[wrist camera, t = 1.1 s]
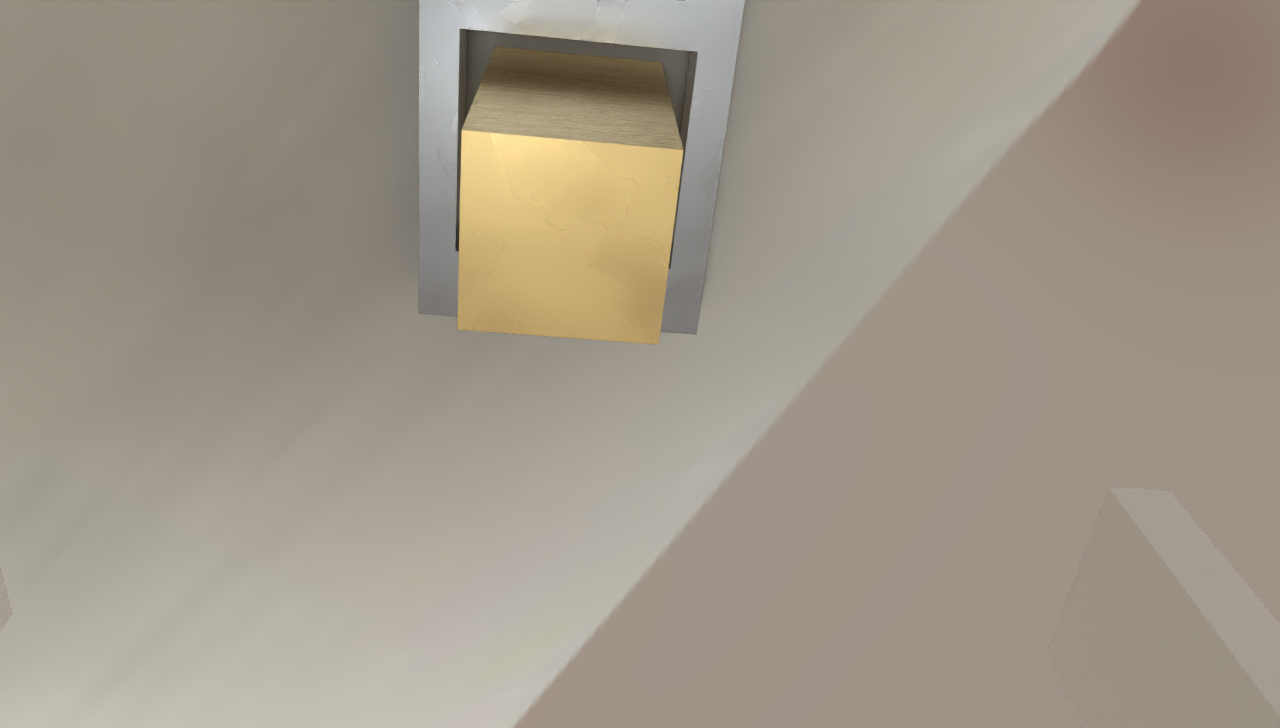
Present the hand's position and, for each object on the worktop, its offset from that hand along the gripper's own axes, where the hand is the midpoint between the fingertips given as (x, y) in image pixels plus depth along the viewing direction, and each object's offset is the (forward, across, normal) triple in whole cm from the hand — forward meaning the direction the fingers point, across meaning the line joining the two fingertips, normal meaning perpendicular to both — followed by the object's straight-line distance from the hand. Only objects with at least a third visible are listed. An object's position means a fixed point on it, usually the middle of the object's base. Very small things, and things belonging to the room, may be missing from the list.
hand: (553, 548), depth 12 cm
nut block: (+19, 0, 0) cm, 19 cm away
